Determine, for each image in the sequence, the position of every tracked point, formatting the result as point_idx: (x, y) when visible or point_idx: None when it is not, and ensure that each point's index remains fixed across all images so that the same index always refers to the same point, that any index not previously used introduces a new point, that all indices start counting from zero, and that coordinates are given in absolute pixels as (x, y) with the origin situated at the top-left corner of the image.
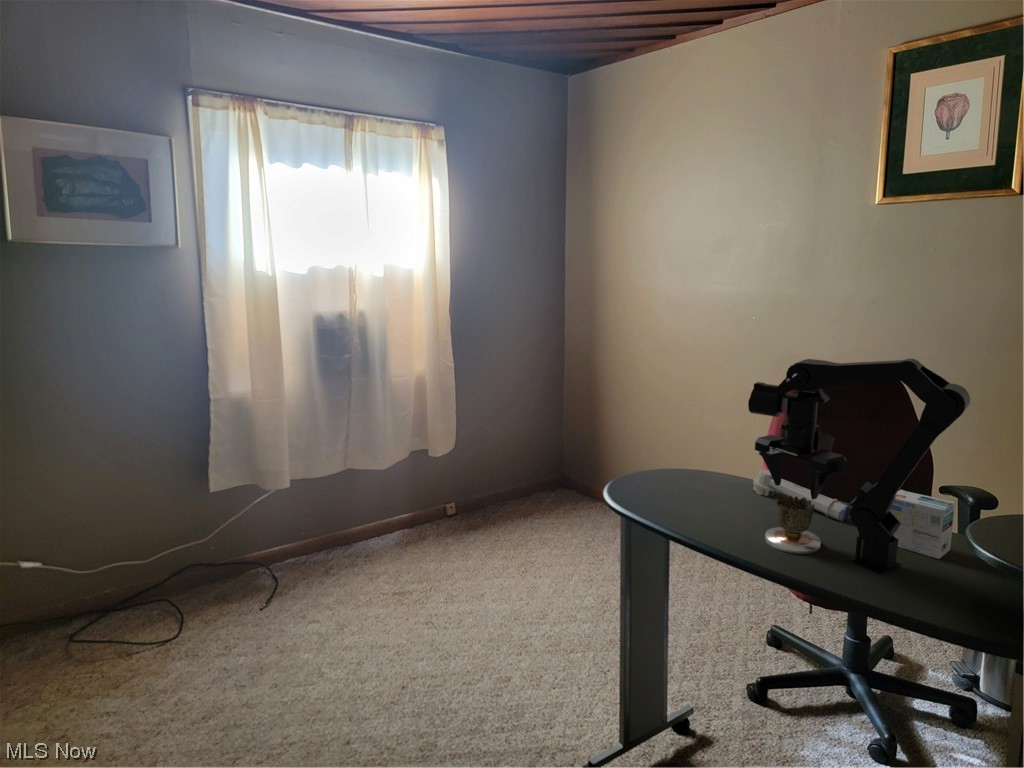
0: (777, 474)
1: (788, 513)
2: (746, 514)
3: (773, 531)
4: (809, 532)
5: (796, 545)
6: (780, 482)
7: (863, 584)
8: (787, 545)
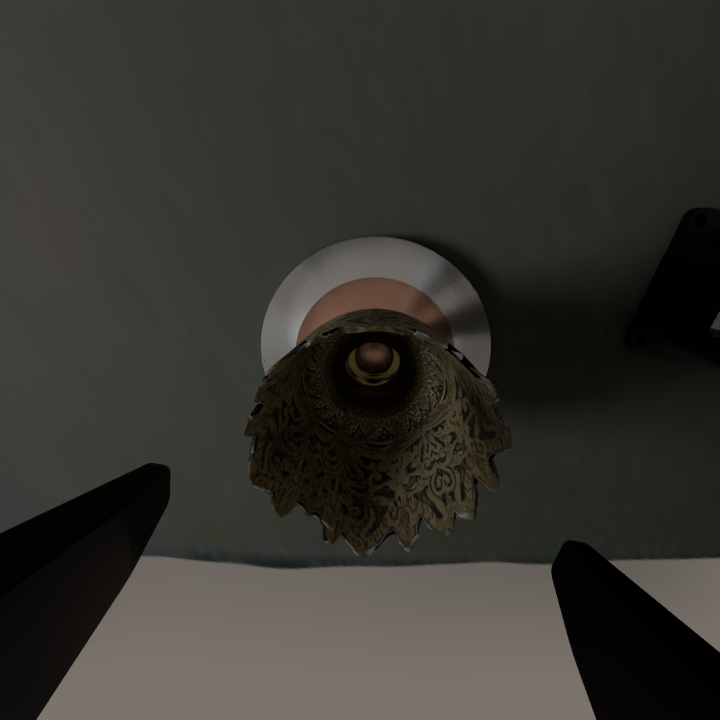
0: (80, 610)
1: (387, 515)
2: (52, 211)
3: None
4: (401, 246)
5: None
6: (156, 482)
7: (691, 470)
8: None
